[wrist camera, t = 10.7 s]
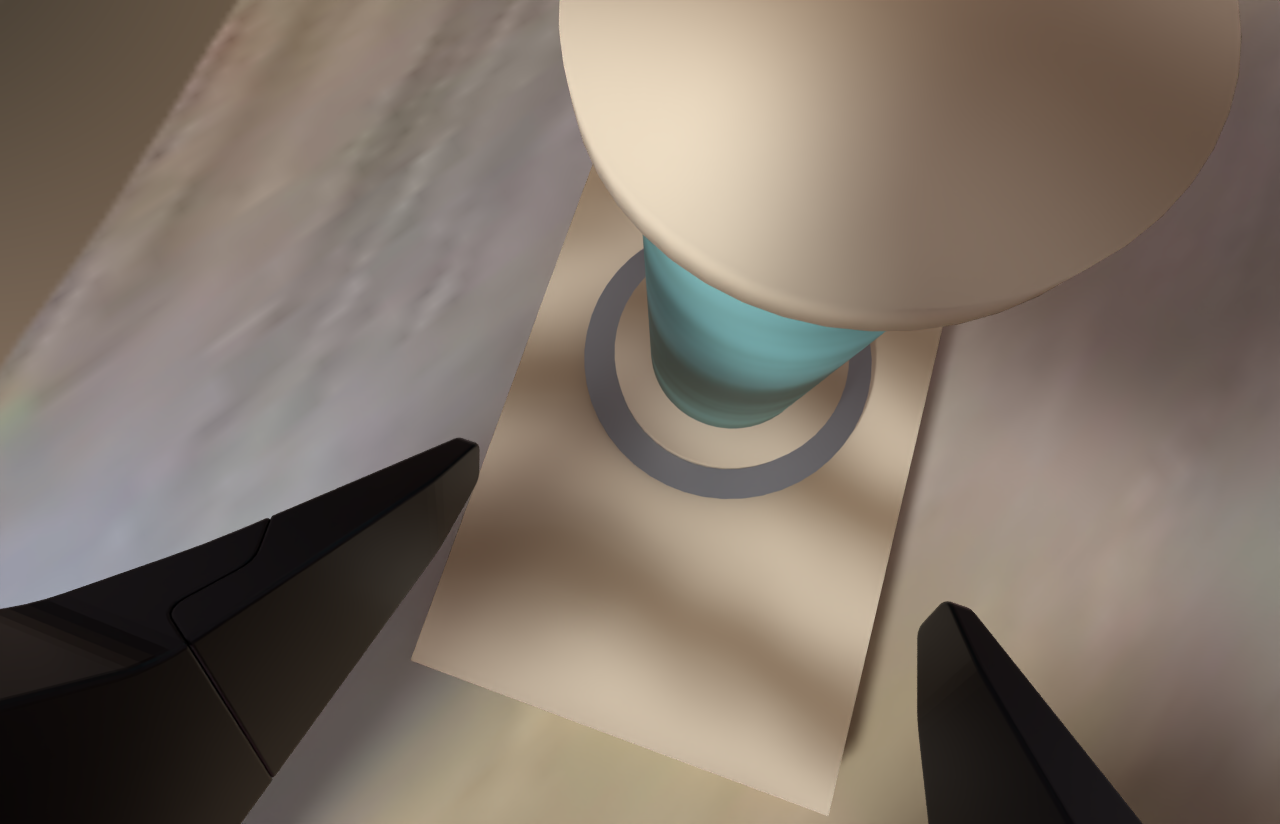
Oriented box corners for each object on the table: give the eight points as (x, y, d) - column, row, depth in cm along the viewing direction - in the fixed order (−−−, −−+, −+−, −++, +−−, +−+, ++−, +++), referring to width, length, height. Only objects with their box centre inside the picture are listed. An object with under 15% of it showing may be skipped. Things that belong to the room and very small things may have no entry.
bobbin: (803, 499, 17) (1243, 481, 4) (588, 429, 18) (393, 227, 5) (860, 293, 18) (1337, -217, 5) (656, 234, 19) (645, -337, 6)
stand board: (814, 789, 17) (831, 822, 15) (430, 647, 18) (406, 663, 17) (942, 253, 20) (969, 229, 18) (605, 165, 21) (600, 134, 20)
